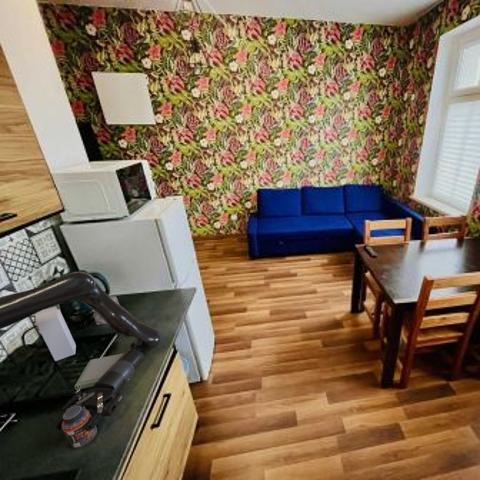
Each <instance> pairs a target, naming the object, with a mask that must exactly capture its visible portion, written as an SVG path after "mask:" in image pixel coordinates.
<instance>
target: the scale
mask: <svg viewBox="0 0 480 480" xmlns="http://www.w3.org/2000/svg"><path fill="white" fill-rule="evenodd" d="M124 353H125V352H122V353H117V354H111V355H108V356H103V357H97V358H92V359H90V360H89V361H88V363H87V364H86V366H85V368H84V369H83V371H82V373H81V374H80V376H79V377H78V380H77V381H76V383H75V385H74V389H75V391H79V390H82V389H88V388H91V387H92V388H93V386H94V384H95V383H96V382H97V381H98V380H99V379H100V378H101V377H102V376H103V374H104V373H105V372H106V371H107V370H108V369H109V368H110V367H111V366H112V365H113V364H114V363H116V362H117V360H118V359H119V358H120V357H121V356H122V355H123V354H124ZM79 386H81V387H79ZM76 387H77V388H76Z"/></svg>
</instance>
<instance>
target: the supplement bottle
mask: <svg viewBox="0 0 480 480" xmlns="http://www.w3.org/2000/svg"><path fill="white" fill-rule="evenodd" d="M82 407H83V406H82V405H81V406H75V407H72V408H70V409H69V410H67V411H66V412H65V413H64V412H63V415H62V416H63V419H64V421H63V423H62V429H61V430H62V431H63V433H64V435H65V437H66V438H67V441H68V443H69V444H70V447H72V448H73V449H80V448H82V447H85V446H86V445H88V444H89V443H91V442H92V441H93V440H94V438H95V437H96V436H97V433H98V429H97V425H96V426H95V427H94V428H93V429H91V431H86V430H85V425H86V424H87V423H88V422H89V421H90V419H91V418H92V417H93V416H92V415H91V413H90V410H86V409H82Z"/></svg>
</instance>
